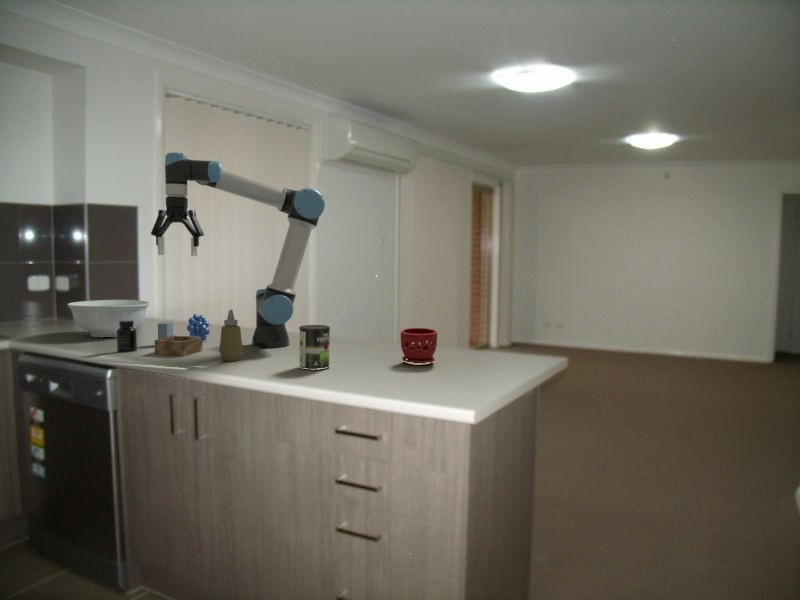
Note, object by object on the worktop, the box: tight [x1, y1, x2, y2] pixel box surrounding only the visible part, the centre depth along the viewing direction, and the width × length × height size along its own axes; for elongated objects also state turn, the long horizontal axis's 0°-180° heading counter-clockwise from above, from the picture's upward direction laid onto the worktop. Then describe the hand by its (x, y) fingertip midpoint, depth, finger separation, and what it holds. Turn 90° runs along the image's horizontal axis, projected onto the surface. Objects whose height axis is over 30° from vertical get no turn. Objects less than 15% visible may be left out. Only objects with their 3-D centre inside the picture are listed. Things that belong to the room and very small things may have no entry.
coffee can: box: [298, 324, 331, 369], centre depth 209 cm, size 10×10×14 cm
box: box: [154, 334, 203, 357], centre depth 229 cm, size 12×12×6 cm
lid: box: [157, 321, 174, 339], centre depth 243 cm, size 13×13×10 cm
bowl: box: [67, 299, 151, 339], centre depth 270 cm, size 32×32×15 cm
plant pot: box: [400, 327, 438, 363], centre depth 220 cm, size 13×13×12 cm
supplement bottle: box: [116, 320, 138, 353], centre depth 230 cm, size 7×7×12 cm
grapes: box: [186, 313, 211, 342], centre depth 256 cm, size 12×7×12 cm, turn 151°
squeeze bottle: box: [219, 309, 243, 362], centre depth 220 cm, size 8×8×18 cm
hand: (177, 255), depth 226 cm, fingers open, 13 cm apart
